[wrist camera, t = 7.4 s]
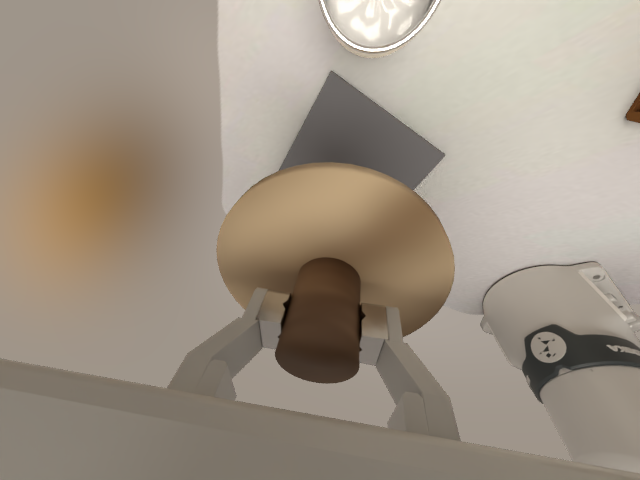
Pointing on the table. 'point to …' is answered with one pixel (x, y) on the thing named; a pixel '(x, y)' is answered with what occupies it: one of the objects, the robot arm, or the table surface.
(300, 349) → the oak lid
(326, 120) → the rubber mat
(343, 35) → the beer glass
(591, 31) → the table surface
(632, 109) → the diary
